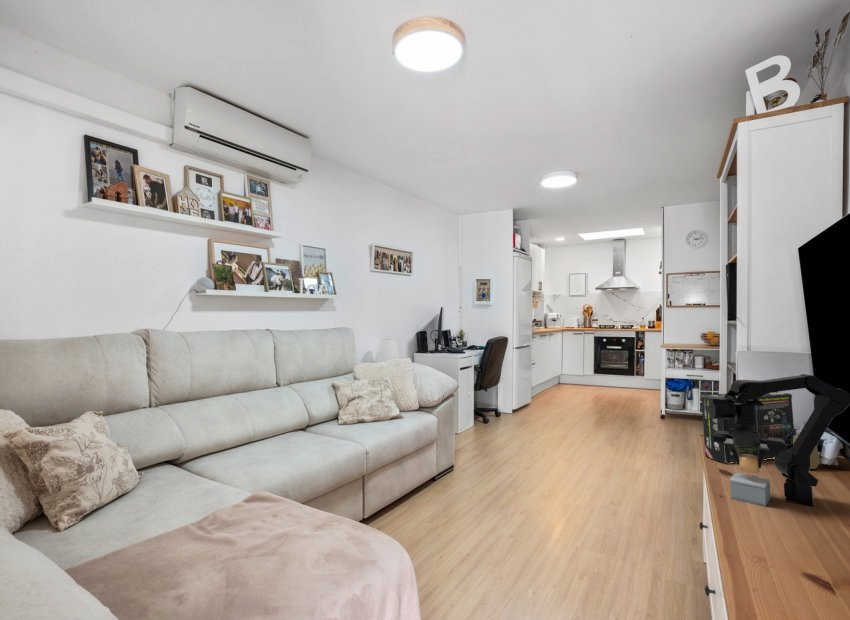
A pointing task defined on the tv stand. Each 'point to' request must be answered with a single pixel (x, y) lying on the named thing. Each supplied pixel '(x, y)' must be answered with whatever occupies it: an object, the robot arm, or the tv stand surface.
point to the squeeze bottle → (814, 455)
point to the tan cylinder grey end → (749, 463)
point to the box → (750, 493)
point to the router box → (770, 422)
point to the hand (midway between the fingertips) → (749, 466)
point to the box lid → (750, 480)
